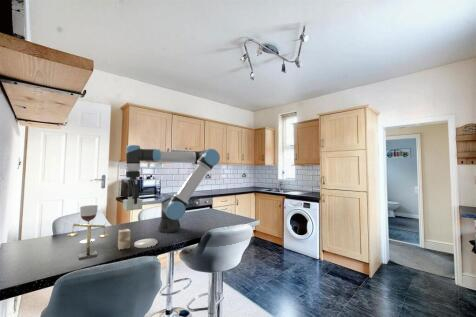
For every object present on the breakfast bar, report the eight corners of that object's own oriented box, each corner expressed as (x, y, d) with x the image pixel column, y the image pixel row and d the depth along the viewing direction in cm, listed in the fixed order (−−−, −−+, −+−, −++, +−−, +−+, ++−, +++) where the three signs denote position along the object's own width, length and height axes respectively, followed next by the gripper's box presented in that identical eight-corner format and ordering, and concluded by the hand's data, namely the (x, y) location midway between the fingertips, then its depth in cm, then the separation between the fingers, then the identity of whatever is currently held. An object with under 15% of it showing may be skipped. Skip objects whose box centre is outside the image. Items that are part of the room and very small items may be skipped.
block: (127, 245, 118) (128, 228, 119) (129, 247, 114) (130, 230, 115) (117, 247, 115) (118, 230, 116) (119, 249, 111) (120, 232, 112)
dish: (153, 239, 128) (153, 237, 128) (160, 245, 119) (160, 242, 119) (132, 243, 121) (132, 241, 121) (137, 249, 112) (137, 247, 112)
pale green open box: (138, 207, 133) (138, 198, 133) (142, 209, 127) (142, 199, 127) (123, 208, 128) (123, 199, 128) (126, 210, 121) (126, 201, 121)
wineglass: (74, 242, 122) (76, 207, 123) (89, 237, 130) (91, 204, 131) (85, 243, 119) (87, 208, 120) (99, 239, 127) (101, 205, 129)
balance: (107, 250, 110) (109, 218, 111) (109, 253, 106) (110, 220, 107) (65, 258, 99) (67, 223, 100) (65, 262, 95) (67, 225, 96)
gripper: (122, 170, 134) (121, 206, 133) (131, 170, 118) (130, 212, 117) (134, 170, 139) (134, 205, 138) (145, 170, 123) (145, 210, 122)
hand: (132, 208), depth 127 cm, fingers closed on pale green open box, 8 cm apart
